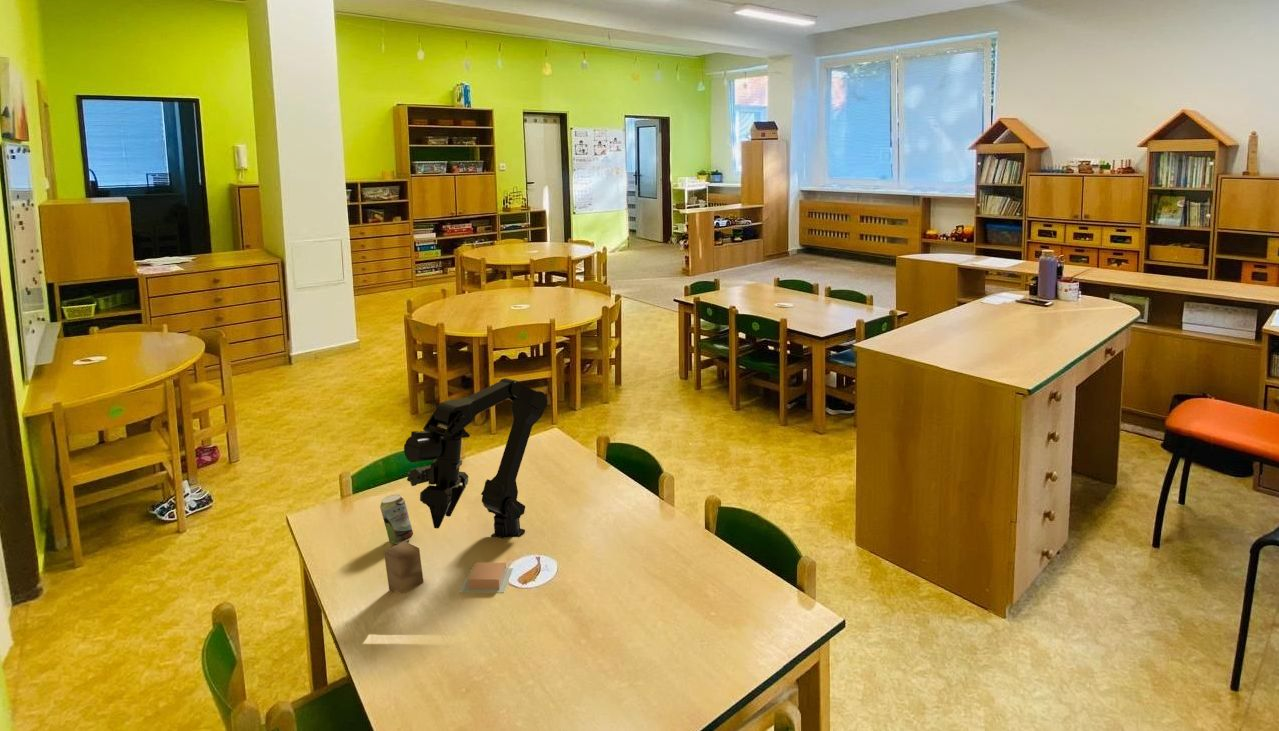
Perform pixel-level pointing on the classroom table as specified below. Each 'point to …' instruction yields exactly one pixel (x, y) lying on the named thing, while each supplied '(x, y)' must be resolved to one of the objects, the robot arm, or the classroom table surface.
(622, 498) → the classroom table surface
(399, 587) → the walnut pillar
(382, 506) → the beverage can
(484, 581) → the terracotta tile
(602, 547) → the classroom table surface
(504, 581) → the grey flat square slab
